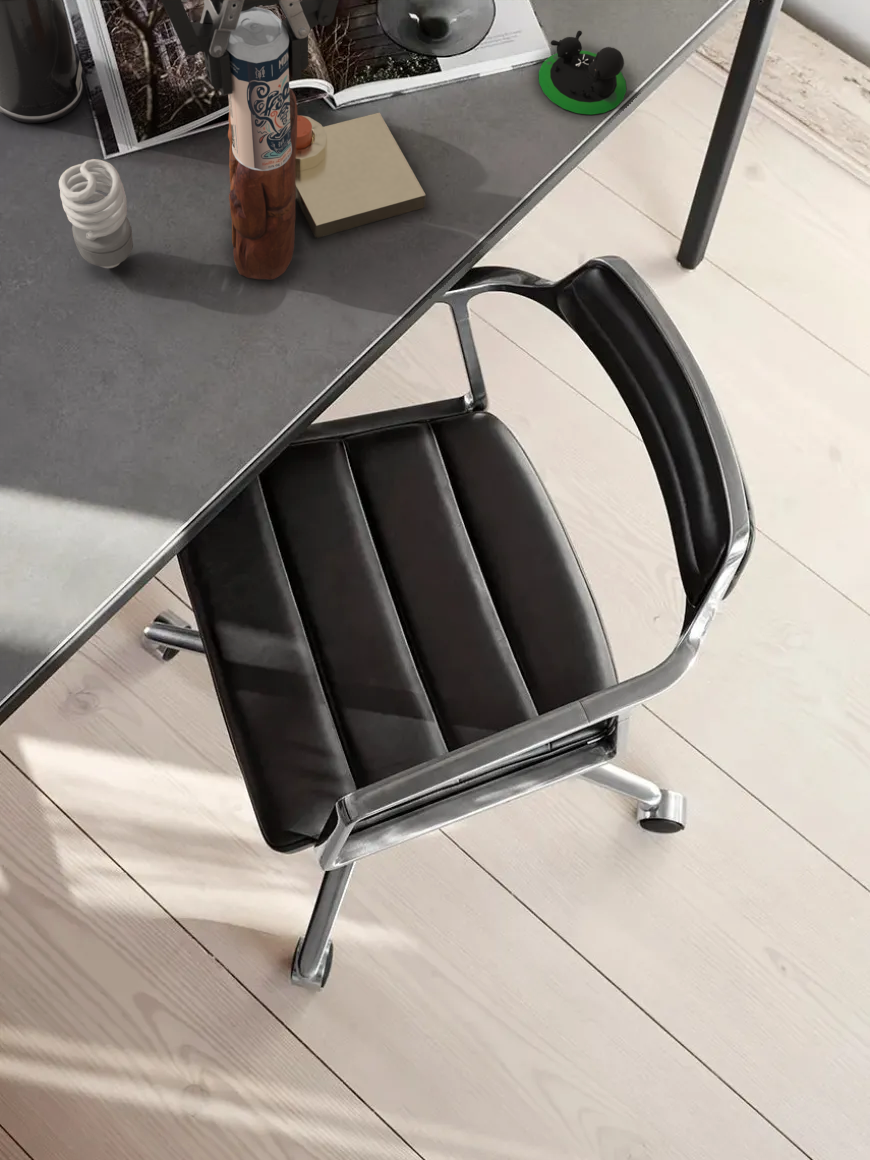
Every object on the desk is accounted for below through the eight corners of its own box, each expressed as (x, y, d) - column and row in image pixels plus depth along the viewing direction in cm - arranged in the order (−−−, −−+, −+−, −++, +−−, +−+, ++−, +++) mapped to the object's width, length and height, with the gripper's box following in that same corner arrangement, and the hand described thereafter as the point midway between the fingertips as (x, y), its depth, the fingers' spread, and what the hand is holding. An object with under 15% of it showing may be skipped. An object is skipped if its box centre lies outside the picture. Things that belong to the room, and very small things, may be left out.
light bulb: (129, 292, 108) (108, 202, 97) (72, 280, 108) (44, 188, 97) (147, 248, 110) (128, 155, 100) (91, 236, 110) (66, 141, 100)
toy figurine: (580, 37, 128) (591, -8, 123) (644, 88, 126) (659, 44, 121) (519, 75, 125) (529, 30, 120) (584, 128, 122) (597, 84, 117)
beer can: (270, 184, 90) (264, 60, 79) (220, 158, 90) (207, 31, 80) (303, 147, 92) (301, 21, 81) (254, 121, 92) (246, -7, 81)
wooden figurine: (239, 191, 115) (225, 40, 98) (302, 196, 115) (299, 47, 99) (228, 283, 110) (212, 141, 93) (294, 288, 110) (289, 147, 94)
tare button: (277, 132, 114) (277, 118, 113) (305, 125, 115) (305, 111, 113) (288, 153, 113) (288, 140, 111) (316, 146, 114) (316, 132, 112)
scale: (260, 149, 117) (259, 122, 114) (375, 119, 120) (376, 93, 117) (306, 241, 113) (306, 216, 109) (424, 208, 116) (427, 183, 113)
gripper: (331, -202, 72) (329, 25, 87) (111, -166, 69) (149, 65, 84) (375, -128, 69) (365, 93, 85) (149, -86, 66) (181, 137, 81)
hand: (257, 78), depth 84 cm, fingers closed on beer can, 4 cm apart
